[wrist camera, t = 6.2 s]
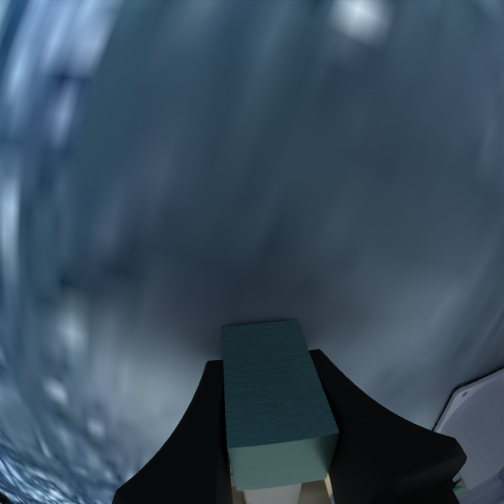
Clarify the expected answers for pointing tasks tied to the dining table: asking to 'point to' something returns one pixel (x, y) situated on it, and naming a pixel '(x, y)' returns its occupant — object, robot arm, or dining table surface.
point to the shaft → (274, 412)
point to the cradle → (311, 494)
